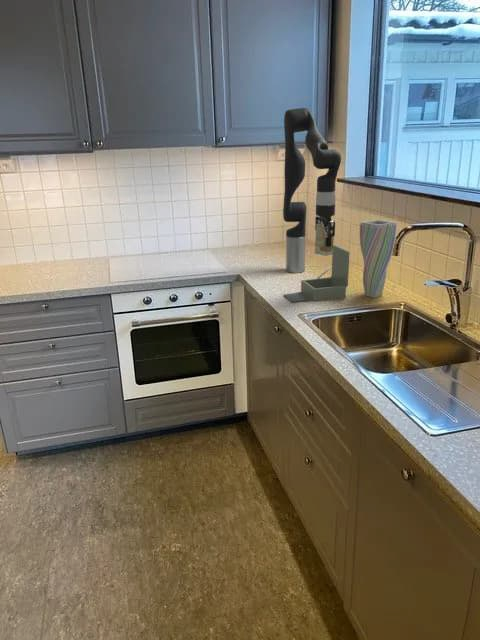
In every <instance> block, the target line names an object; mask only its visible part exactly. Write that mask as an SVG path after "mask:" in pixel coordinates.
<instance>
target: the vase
mask: <svg viewBox="0 0 480 640" xmlns="http://www.w3.org/2000/svg"><path fill="white" fill-rule="evenodd" d="M396 233H397V223H396V222H395V221H388V220H384V219H383V220H381V219H374V220H368V221H362V222H360V223H359V243H360V244H359V246H360V250H361V254H362V259H363V270H362V285H363V291H364V292H363V293H364V296H367V297H370V298H373V299H374V298H377V297H381V296H383V291H384V288H385V285H386V284H385V283H386V278H387V270H388V269H387V268H388V266H389V264H390V261H391V258H392V255H393V252H392V251H394V248H393V246H394V247H395V243H394V241H395V242H396Z"/></svg>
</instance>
